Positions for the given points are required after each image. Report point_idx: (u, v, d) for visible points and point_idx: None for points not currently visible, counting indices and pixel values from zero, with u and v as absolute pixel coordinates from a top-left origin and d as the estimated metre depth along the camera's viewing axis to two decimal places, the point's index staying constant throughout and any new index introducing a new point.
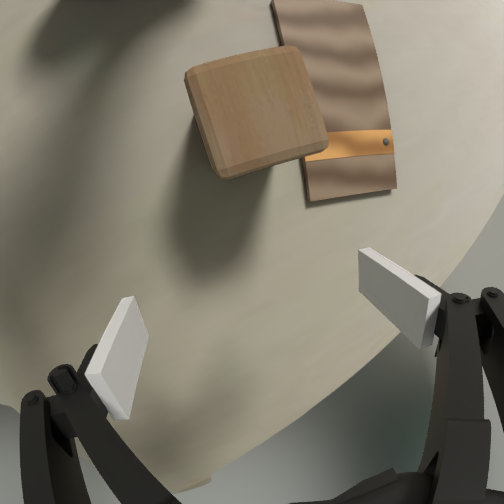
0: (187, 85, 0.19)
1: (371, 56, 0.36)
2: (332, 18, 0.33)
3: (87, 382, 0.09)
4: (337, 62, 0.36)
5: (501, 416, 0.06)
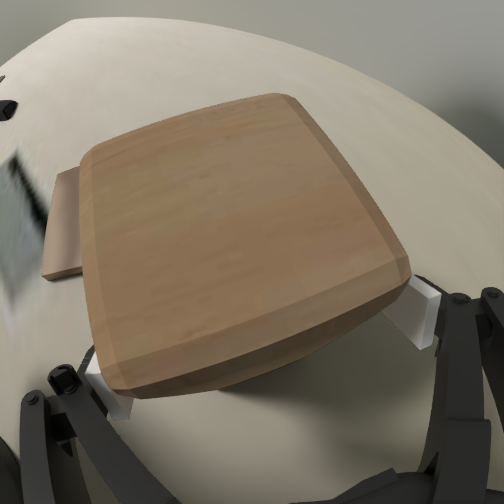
0: (154, 389, 0.07)
1: None
2: (72, 203, 0.31)
3: (87, 382, 0.09)
4: None
5: (501, 416, 0.06)
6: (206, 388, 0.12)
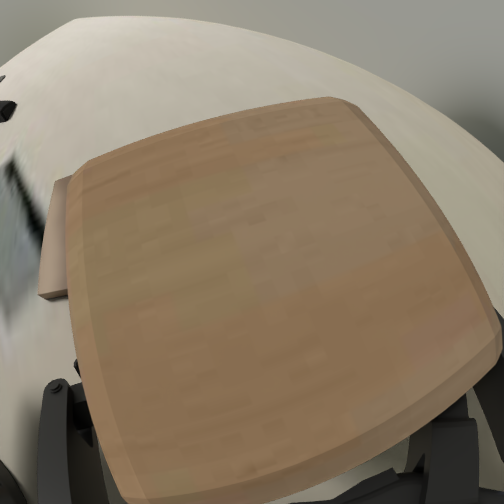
0: None
1: None
2: None
3: None
4: None
5: (487, 415, 0.06)
6: None
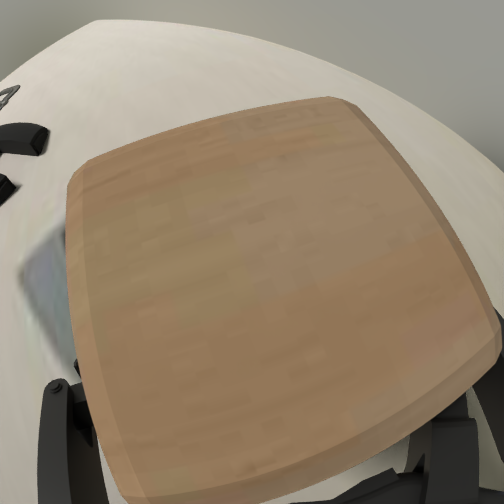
0: None
1: None
2: None
3: None
4: None
5: (487, 415, 0.06)
6: None
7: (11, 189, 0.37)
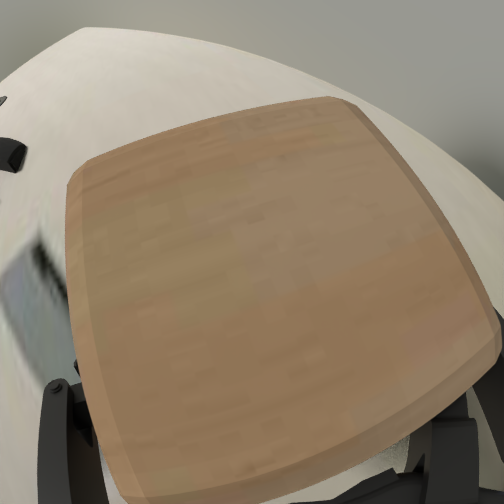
0: None
1: None
2: None
3: None
4: None
5: (487, 415, 0.06)
6: None
7: None
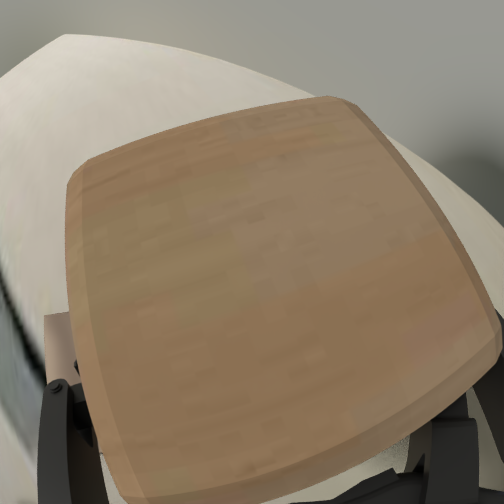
0: None
1: None
2: (71, 370, 0.25)
3: None
4: None
5: (487, 415, 0.06)
6: None
7: None
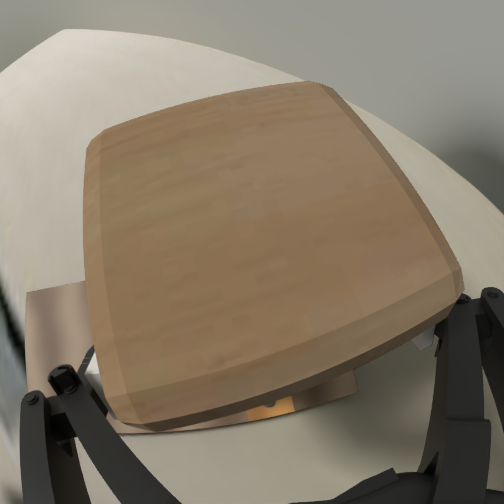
0: (172, 424, 0.05)
1: None
2: (48, 346, 0.24)
3: (87, 382, 0.09)
4: None
5: (501, 416, 0.06)
6: None
7: None
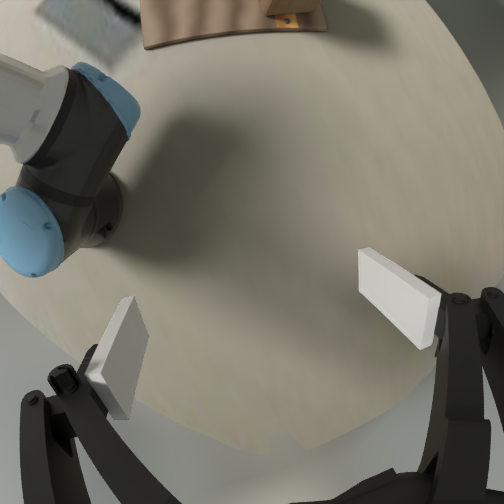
0: None
1: None
2: (161, 4, 0.35)
3: (87, 382, 0.09)
4: (208, 0, 0.37)
5: (501, 416, 0.06)
6: None
7: None
